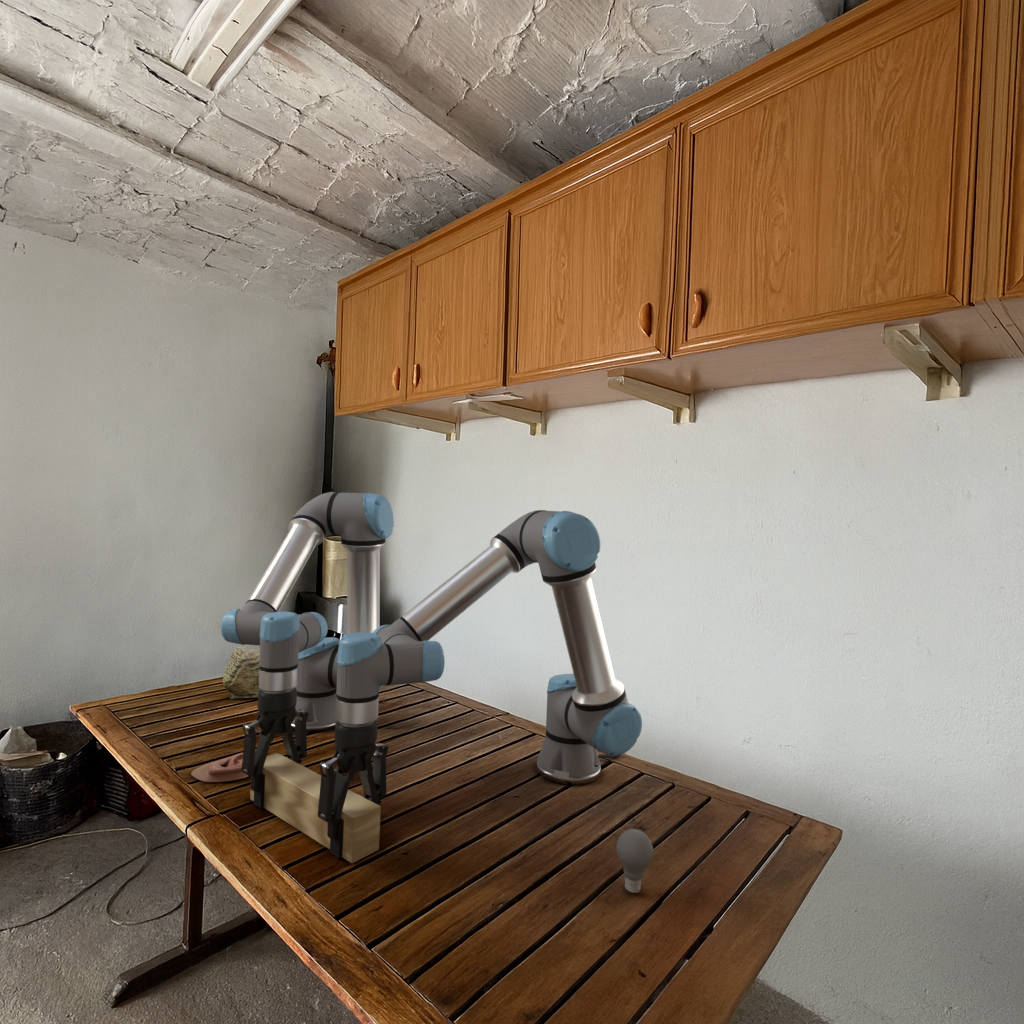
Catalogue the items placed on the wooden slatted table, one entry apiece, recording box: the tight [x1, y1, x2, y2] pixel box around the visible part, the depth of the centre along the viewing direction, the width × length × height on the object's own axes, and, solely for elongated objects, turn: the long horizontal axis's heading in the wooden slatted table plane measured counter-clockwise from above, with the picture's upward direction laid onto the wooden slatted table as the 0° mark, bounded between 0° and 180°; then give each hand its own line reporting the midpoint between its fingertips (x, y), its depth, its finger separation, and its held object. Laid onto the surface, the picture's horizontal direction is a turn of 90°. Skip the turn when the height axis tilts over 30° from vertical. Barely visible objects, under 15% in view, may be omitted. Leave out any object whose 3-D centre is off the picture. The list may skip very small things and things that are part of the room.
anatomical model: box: [190, 750, 256, 783], centre depth 143 cm, size 13×4×12 cm
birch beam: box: [249, 752, 382, 864], centre depth 123 cm, size 34×6×8 cm, turn 51°
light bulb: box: [615, 828, 654, 894], centre depth 106 cm, size 6×6×10 cm
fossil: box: [222, 646, 260, 699], centre depth 198 cm, size 9×18×15 cm, turn 132°
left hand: (274, 799), depth 131 cm, fingers closed on birch beam, 6 cm apart
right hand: (351, 846), depth 115 cm, fingers closed on birch beam, 6 cm apart
